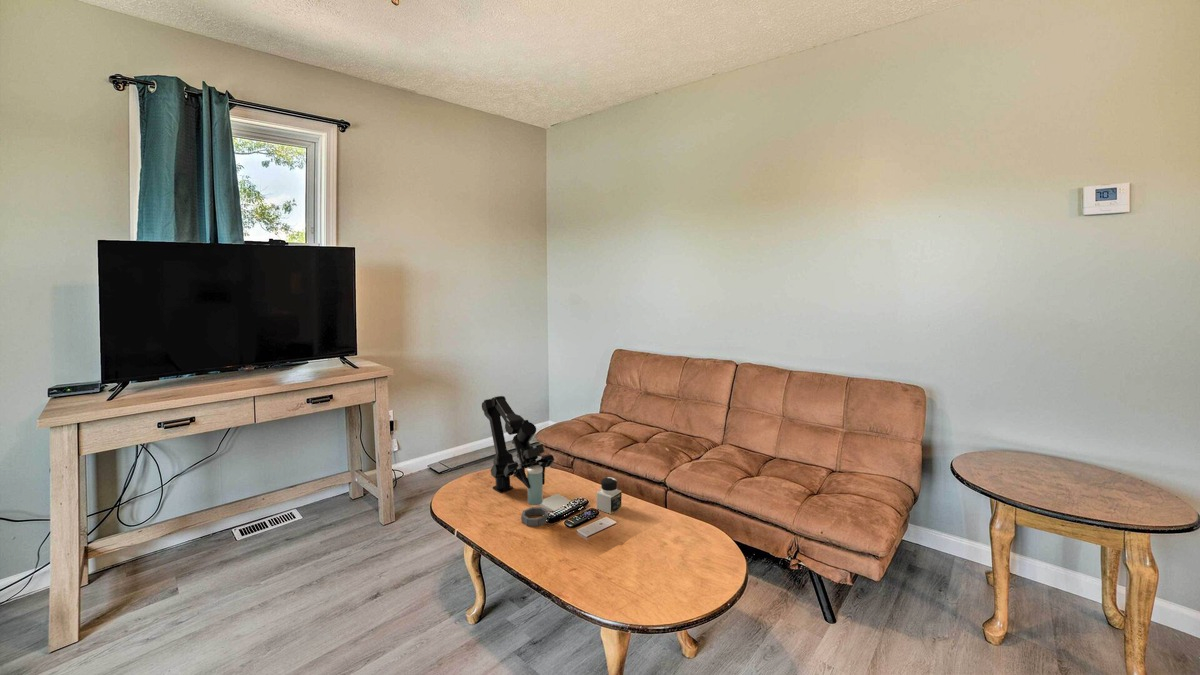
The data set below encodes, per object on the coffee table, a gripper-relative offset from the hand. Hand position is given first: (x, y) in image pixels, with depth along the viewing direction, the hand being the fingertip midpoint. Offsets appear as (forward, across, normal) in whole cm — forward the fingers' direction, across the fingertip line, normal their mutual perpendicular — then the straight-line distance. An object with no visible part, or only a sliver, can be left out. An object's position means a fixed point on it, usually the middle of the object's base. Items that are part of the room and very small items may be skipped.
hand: (536, 486), depth 179 cm
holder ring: (+9, 0, +10) cm, 14 cm away
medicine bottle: (+14, +28, +5) cm, 32 cm away
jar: (+4, 0, +6) cm, 7 cm away
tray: (+6, +12, +13) cm, 19 cm away
